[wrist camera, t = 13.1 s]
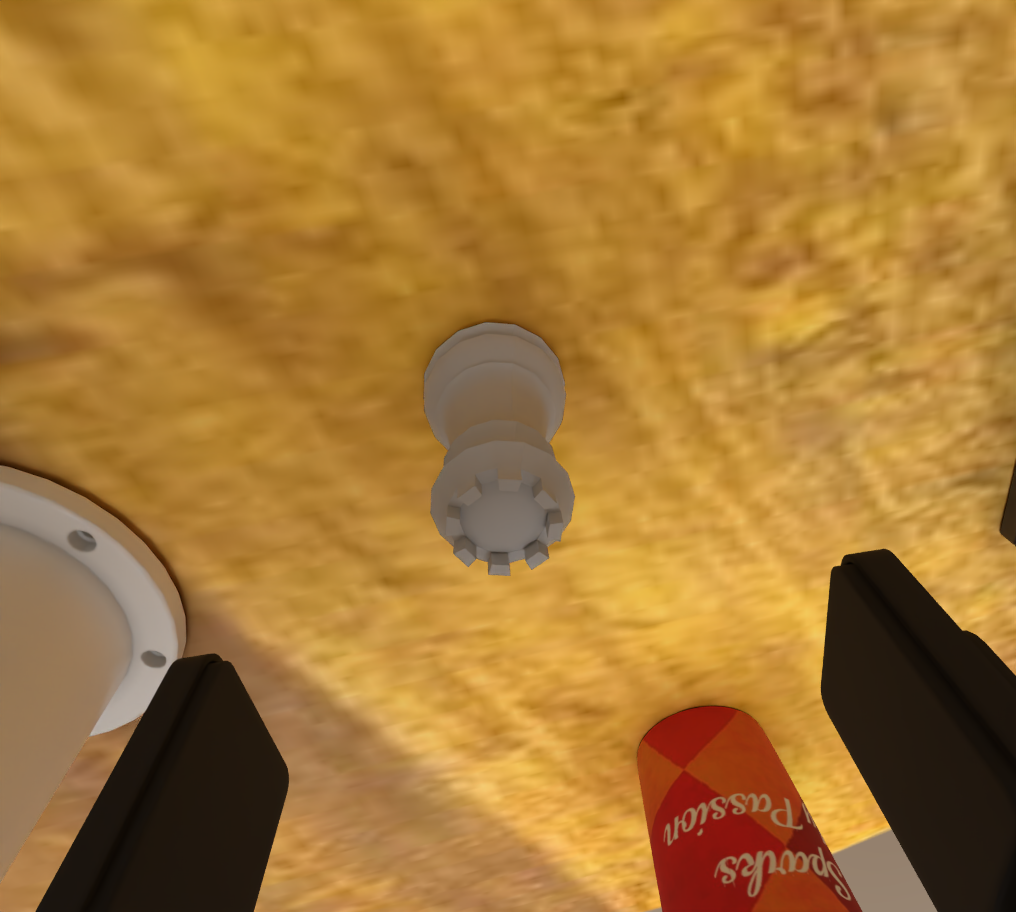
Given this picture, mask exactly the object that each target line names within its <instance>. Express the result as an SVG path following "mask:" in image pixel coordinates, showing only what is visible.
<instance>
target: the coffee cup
mask: <svg viewBox="0 0 1016 912" xmlns="http://www.w3.org/2000/svg"><path fill="white" fill-rule="evenodd" d="M637 760H638V771H639V778H640V785H641V791H642V797H643V804H644V810H645V815H646V821H647V827H648V833H649V839H650V844H651V850H652V856H653V861H654V867H655V873H656V878H657V884H658V889H659V895H660V901H661V906H662V912H862V910H861V908H860V906H859V904H858V903H857V901H856V899H855V897H854V895H853V893H852V892H851V889H850V888H849V886H848V884H847V882H846V880H845V878H844V876H843V875H842V873H841V871H840V869H839V867H838V865H837V864H836V862H835V860H834V858H833V856H832V854H831V852H830V850H829V849H828V847H827V845H826V843H825V841H824V839H823V837H822V836H821V834H820V832H819V830H818V828H817V826H816V824H815V823H814V821H813V819H812V817H811V815H810V813H809V812H808V810H807V808H806V806H805V804H804V802H803V801H802V799H801V797H800V795H799V793H798V791H797V790H796V788H795V786H794V784H793V782H792V780H791V778H790V777H789V775H788V773H787V771H786V769H785V767H784V766H783V764H782V762H781V760H780V759H779V757H778V755H777V753H776V751H775V750H774V748H773V746H772V744H771V743H770V741H769V739H768V738H767V736H766V734H765V733H764V731H763V729H762V728H761V727H760V725H759V724H758V723H757V722H756V720H755V719H753V718H752V717H751V716H749V715H748V714H746V713H744V712H742V711H739V710H736V709H733V708H728V707H720V706H707V707H698V708H693V709H688V710H685V711H682V712H679V713H676V714H674V715H672V716H670V717H668V718H666V719H664V720H663V721H661V722H660V723H658V724H657V725H655V726H654V727H653V728H652V729H651V730H650V731H649V732H648V733H647V734H646V735H645V737H644V738H643V740H642V742H641V744H640V746H639V749H638V754H637Z"/></svg>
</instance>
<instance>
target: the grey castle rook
mask: <svg viewBox="0 0 1016 912" xmlns="http://www.w3.org/2000/svg"><path fill="white" fill-rule="evenodd" d="M564 386H565V382H564V378H563V375H562V371H561V368H560V364H559V361H558V358H557V357H556V355H555V354H554V353H553V352H552V351H551V349H550V348H549V347H548V346H547V345H546V343H545V342H544V341H543V340H542V339H541V338H540V337H539V336H537V335H535V334H533V333H531V332H529V331H527V330H525V329H523V328H521V327H519V326H517V325H515V324H502V323H489V322H485V323H482V324H479V325H475V326H472V327H469V328H466V329H463V330H460V331H457V332H456V333H455V334H454V335H453V336H452V337H450V338H449V339H448V340H447V341H446V342H444V343H443V344H442V345H441V346H440V347H438V348H437V349H436V351H435V353H434V355H433V357H432V359H431V361H430V363H429V365H428V367H427V369H426V371H425V374H424V412H425V414H426V417H427V419H428V422H429V424H430V426H431V429H432V431H433V434H434V436H435V437H436V439H437V440H438V441H439V442H440V443H441V444H442V445H443V446H444V447H445V448H446V449H447V450H448V452H447V454H446V456H445V458H444V467H443V469H442V470H441V472H440V474H439V476H438V478H437V480H436V481H435V483H434V485H433V487H432V490H431V512H430V513H431V515H432V517H433V520H434V522H435V524H436V526H437V529H438V531H439V533H440V535H441V536H442V537H443V538H444V539H446V540H447V541H448V542H449V543H450V544H451V545H452V546H453V547H454V549H453V554H454V555H455V556H457V557H458V558H459V559H460V560H461V561H462V562H463V563H464V564H465V565H467V566H468V567H469V566H470V565H471V564H472V563H473V562H474V561H475V560H476V558H477V559H479V560H482V561H486V562H488V575H505V576H510V565H509V563H511V562H514V561H518V560H522V559H525V560H526V562H527V564H528V565H529V567H530V568H531V570H532V569H534V568H535V567H537V566H538V565H540V564H541V563H543V562H544V561H546V560H547V559H548V558H549V554H548V548H547V547H548V546H550V545H551V544H553V543H554V542H556V541H561V535H562V532H563V531H564V529H565V528H566V527H567V525H568V524H569V522H570V521H571V517H572V511H573V505H574V499H575V495H574V492H573V489H572V485H571V482H570V479H569V476H568V473H567V472H566V471H565V470H564V469H563V467H562V466H561V465H560V464H559V463H558V462H557V461H556V459H555V456H554V453H553V449H552V446H551V445H550V444H549V442H550V441H551V439H552V438H553V436H554V434H555V433H556V431H557V430H558V428H559V426H560V425H561V422H562V420H563V413H564V406H565V399H566V392H565V388H564Z"/></svg>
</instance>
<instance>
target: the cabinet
mask: <svg viewBox="0 0 1016 912" xmlns="http://www.w3.org/2000/svg"><path fill="white" fill-rule="evenodd" d="M1000 533H1001V534H1002V535H1003V536H1004V537H1005V538H1006V539H1008V540H1009V541H1010V542H1011V543H1013V544H1015V546H1016V468H1015V472H1014V476H1013V480H1012V484H1011V489H1010V493H1009V497H1008V501H1007V506H1006V510H1005V514H1004V518H1003V522H1002V527H1001V531H1000Z"/></svg>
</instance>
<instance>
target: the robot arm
mask: <svg viewBox="0 0 1016 912" xmlns="http://www.w3.org/2000/svg"><path fill="white" fill-rule="evenodd" d="M185 644H186V617H185V613H184V610H183V606H182V603H181V600H180V596H179V593H178V591H177V589H176V587H175V585H174V583H173V582H172V580H171V578H170V576H169V574H168V573H167V571H166V569H165V567H164V566H163V565H162V563H161V562H160V561H159V560H158V559H157V557H156V556H155V555H154V554H153V552H152V551H151V550H150V549H149V548H148V546H147V545H146V544H145V543H144V542H143V541H142V540H141V539H140V538H139V537H138V536H137V535H135V534H134V533H133V532H132V531H131V530H130V529H129V528H128V527H126V526H125V525H124V524H123V523H122V522H121V521H120V520H118V519H117V518H116V517H114V516H113V515H111V514H110V513H108V512H107V511H105V510H104V509H102V508H101V507H99V506H98V505H96V504H94V503H93V502H91V501H90V500H88V499H87V498H85V497H83V496H81V495H79V494H77V493H75V492H73V491H71V490H69V489H67V488H65V487H62V486H60V485H58V484H56V483H54V482H52V481H50V480H48V479H45V478H41V477H38V476H35V475H32V474H29V473H26V472H23V471H20V470H17V469H14V468H11V467H7V466H1V465H0V883H1V881H2V879H3V878H4V876H5V874H6V873H7V871H8V869H9V868H10V866H11V864H12V863H13V861H14V860H15V858H16V856H17V855H18V853H19V851H20V850H21V848H22V846H23V845H24V843H25V841H26V840H27V838H28V836H29V835H30V833H31V831H32V830H33V828H34V826H35V825H36V823H37V821H38V820H39V818H40V816H41V815H42V813H43V811H44V810H45V808H46V807H47V805H48V803H49V802H50V800H51V798H52V797H53V795H54V793H55V792H56V790H57V788H58V787H59V785H60V783H61V782H62V780H63V778H64V777H65V775H66V773H67V772H68V770H69V768H70V767H71V765H72V763H73V762H74V760H75V758H76V757H77V755H78V754H79V752H80V750H81V749H82V747H83V745H84V744H85V742H86V740H87V739H88V737H90V736H94V735H98V734H101V733H105V732H108V731H112V730H114V729H116V728H118V727H121V726H123V725H125V724H127V723H129V722H131V721H133V720H135V719H137V718H138V717H139V716H140V715H142V714H143V713H144V712H145V713H144V715H143V716H142V718H141V720H140V722H139V724H138V726H137V727H136V729H135V731H134V733H133V735H132V736H131V738H130V740H129V742H128V744H127V746H126V747H125V749H124V751H123V753H122V755H121V757H120V758H119V760H118V762H117V764H116V766H115V767H114V769H113V771H112V773H111V775H110V777H109V778H108V780H107V782H106V784H105V786H104V788H103V789H102V791H101V793H100V795H99V797H98V799H97V800H96V802H95V804H94V806H93V808H92V809H91V811H90V813H89V815H88V817H87V819H86V820H85V822H84V824H83V826H82V828H81V830H80V831H79V833H78V835H77V837H76V839H75V840H74V842H73V844H72V846H71V848H70V850H69V851H68V853H67V855H66V857H65V859H64V861H63V862H62V864H61V866H60V868H59V870H58V872H57V873H56V875H55V877H54V879H53V881H52V882H51V884H50V886H49V888H48V890H47V892H46V893H45V895H44V897H43V899H42V901H41V903H40V904H39V906H38V908H37V910H36V912H254V909H255V905H256V901H257V898H258V894H259V891H260V887H261V884H262V880H263V877H264V873H265V869H266V866H267V862H268V859H269V855H270V852H271V848H272V845H273V841H274V837H275V834H276V830H277V827H278V823H279V820H280V816H281V813H282V809H283V805H284V802H285V798H286V795H287V791H288V785H289V774H288V768H287V766H286V764H285V762H284V760H283V758H282V756H281V754H280V752H279V751H278V749H277V747H276V745H275V743H274V741H273V739H272V737H271V736H270V734H269V732H268V730H267V728H266V726H265V724H264V722H263V721H262V719H261V717H260V715H259V713H258V711H257V709H256V708H255V706H254V704H253V702H252V700H251V698H250V696H249V694H248V693H247V691H246V689H245V687H244V685H243V683H242V681H241V680H240V678H239V676H238V674H237V672H236V670H235V668H234V666H233V665H232V664H231V663H230V662H229V661H223V660H222V659H221V658H220V656H218V655H217V654H206V655H200V656H193V657H187V658H182V656H183V652H184V648H185ZM821 695H822V700H823V704H824V706H825V709H826V711H827V713H828V715H829V717H830V719H831V721H832V722H833V724H834V726H835V728H836V730H837V731H838V733H839V735H840V737H841V739H842V740H843V742H844V744H845V746H846V748H847V749H848V751H849V753H850V755H851V757H852V758H853V760H854V762H855V764H856V766H857V767H858V769H859V771H860V773H861V775H862V776H863V778H864V780H865V782H866V784H867V785H868V787H869V789H870V791H871V793H872V794H873V796H874V798H875V800H876V802H877V803H878V805H879V807H880V809H881V811H882V812H883V814H884V816H885V818H886V820H887V821H888V823H889V825H890V827H891V829H892V830H893V832H894V834H895V836H896V838H897V839H898V841H899V843H900V845H901V847H902V848H903V850H904V852H905V854H906V855H907V857H908V859H909V861H910V862H911V865H912V866H913V868H914V870H915V872H916V873H917V875H918V877H919V879H920V880H921V882H922V884H923V886H924V888H925V890H926V891H927V893H928V895H929V897H930V899H931V900H932V902H933V904H934V906H935V908H936V909H937V911H938V912H1016V676H1015V675H1014V673H1013V672H1012V671H1011V670H1010V669H1009V668H1008V667H1007V666H1006V665H1005V664H1004V662H1003V661H1002V660H1001V659H1000V658H999V657H998V656H997V655H996V654H995V653H994V652H993V650H992V649H991V648H990V647H989V646H988V645H987V644H986V643H985V642H984V641H983V640H981V639H980V638H979V637H978V636H977V635H975V634H973V633H971V632H969V631H962V630H961V629H960V628H959V626H958V625H957V624H956V623H955V622H954V621H953V620H952V619H951V617H950V616H949V615H948V614H947V613H946V612H945V611H944V610H943V608H942V607H941V606H940V605H939V604H938V603H937V602H936V601H935V600H934V598H933V597H932V596H931V595H930V594H929V593H928V592H927V591H926V589H925V588H924V587H923V586H922V585H921V584H920V583H919V582H918V581H917V579H916V578H915V577H914V576H913V575H912V574H911V573H910V572H909V570H908V569H907V568H906V567H905V566H904V565H903V564H902V563H901V561H900V560H899V559H898V558H897V557H896V556H895V555H894V554H893V553H892V552H891V551H890V550H887V549H880V550H874V551H867V552H861V553H855V554H848V555H845V556H844V557H843V559H842V562H841V566H836V567H833V569H832V571H831V578H830V589H829V601H828V612H827V623H826V635H825V646H824V657H823V668H822V680H821Z"/></svg>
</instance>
